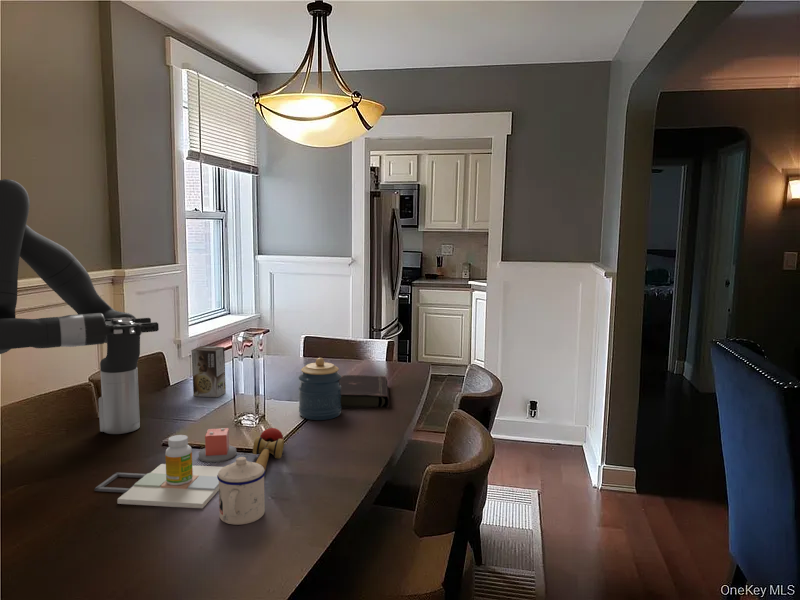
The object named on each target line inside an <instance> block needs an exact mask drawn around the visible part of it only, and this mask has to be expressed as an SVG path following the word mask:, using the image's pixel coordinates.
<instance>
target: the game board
mask: <svg viewBox="0 0 800 600" xmlns="http://www.w3.org/2000/svg"><path fill="white" fill-rule="evenodd" d="M223 467H224V466H214V465H213V466H212V465H211V466H210V465H208V466H207V465H193V464H192V473H193V478H192V480H191V481H190V482H189V483H186V484H183V485H169V484H168V483H167V481H166V463H161V464H159V465H158V466H157V467H155V469H153V470H152V471H150V472H147V473H135V472H134V473H133V472H118V471H117V472H115V473H114V474H112V475H111V476H110V477H108V478H107V479H106V480H104V481H103V482H101V483H99V484H98V485H97V486H95V488H94V491H95V492H105V493H106V492H109V493H122V494H121V496H119V497H118V498H117V499H116V500H117V504H119V505H120V504H121V505H132V506H133V505H134V506H135V505H136V506H150V507H151V506H155V507H169V508H170V507H171V508H189V509H203V508H205V506H206V505H207V504H208V503H209V502H210V501H211V499H212V498H213V497H214V496H216V494H217V493H219V480H218V478H217V475H218V472H219V471H220V470H221V469H222V468H223ZM119 477H121V478H137V479H138V478H139V479H138V481H136V482H135V483H134V484H132V486H131V487H130V488H127V487H113V486H112V487H109V486H107V485H108V484H110V483H112V481H115V480H116V479H117V478H119Z"/></svg>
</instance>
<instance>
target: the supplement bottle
mask: <svg viewBox="0 0 800 600" xmlns="http://www.w3.org/2000/svg"><path fill="white" fill-rule="evenodd" d="M167 443H168V447H167V448H166V449H165V455H164V456H165V457H164V458H165V464H166V481H167V483H168V484H169V485H183V484H186V483H189V482H190V481H191V480H192V478H193V473H192V465H193V451H192V446H191V445H189V436H188V435H186V434H185V435H184V434H177V435H176V434H175V435H172V436H169V437H168V440H167Z"/></svg>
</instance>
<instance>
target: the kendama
mask: <svg viewBox="0 0 800 600" xmlns="http://www.w3.org/2000/svg"><path fill="white" fill-rule="evenodd" d="M284 446H285V439H284V435H283V433H282V432H281V431H280V430H279V429H278V428H276V427H269V428H267V429H265V430H263V431H262V433H261V434H260V436H256V437H255V439H254V443H253V447H252V454H253V455H256V456H257V455H258V457H257V459H256V461H255V463H258V464H260V465H262V466H263V467H264V470H265V471H266V469H267V465H268V461H269V457H270V455H271V454H272V456H273V457H274V458H275V459H281V458H282V454H283V451H284Z"/></svg>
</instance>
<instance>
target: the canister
mask: <svg viewBox="0 0 800 600" xmlns="http://www.w3.org/2000/svg"><path fill="white" fill-rule="evenodd" d="M339 369H340V368H339V367H338V366H336V365H335V364H334V363H331V362H326V361H325V359H324V358H323V357H318V358H316V360H315V362H311V363H308V364H306V365H304V366H303V367H302V368H301V372H302V373H300V375H299V376H298V380H299V383H300V384H299V387H298V392H299V393H298V395H299V397H298V398H299V403H298V404H299V405H298V413H299V416H300V417H301V416H302V417H301V418H303V417H304V418H303V419H305V418H306V420H311V421H325V420H332V419H334V418H337V417H339V416H340V415H341V414H342V413H341V412H342V408H341V385H340V379H341V376H342V375H341V374H340V373H339V372H338V371H339Z"/></svg>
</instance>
